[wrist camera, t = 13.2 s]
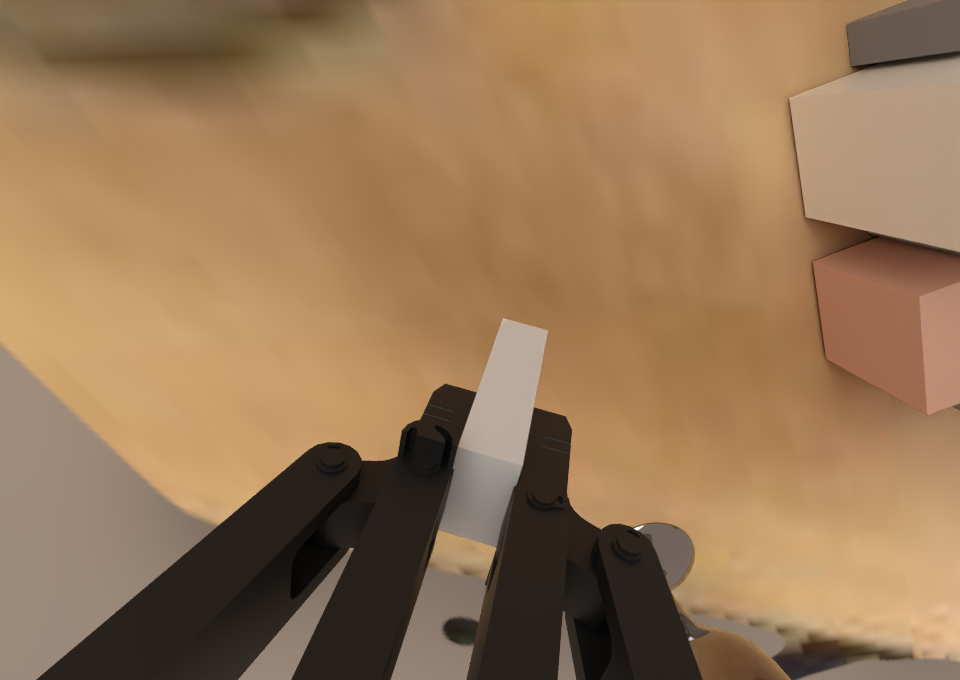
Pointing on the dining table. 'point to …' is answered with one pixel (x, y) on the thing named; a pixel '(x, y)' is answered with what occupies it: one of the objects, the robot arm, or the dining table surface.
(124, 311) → the dining table surface
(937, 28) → the console
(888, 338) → the terracotta key
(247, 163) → the dining table surface
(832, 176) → the cream key
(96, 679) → the robot arm
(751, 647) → the wine glass
